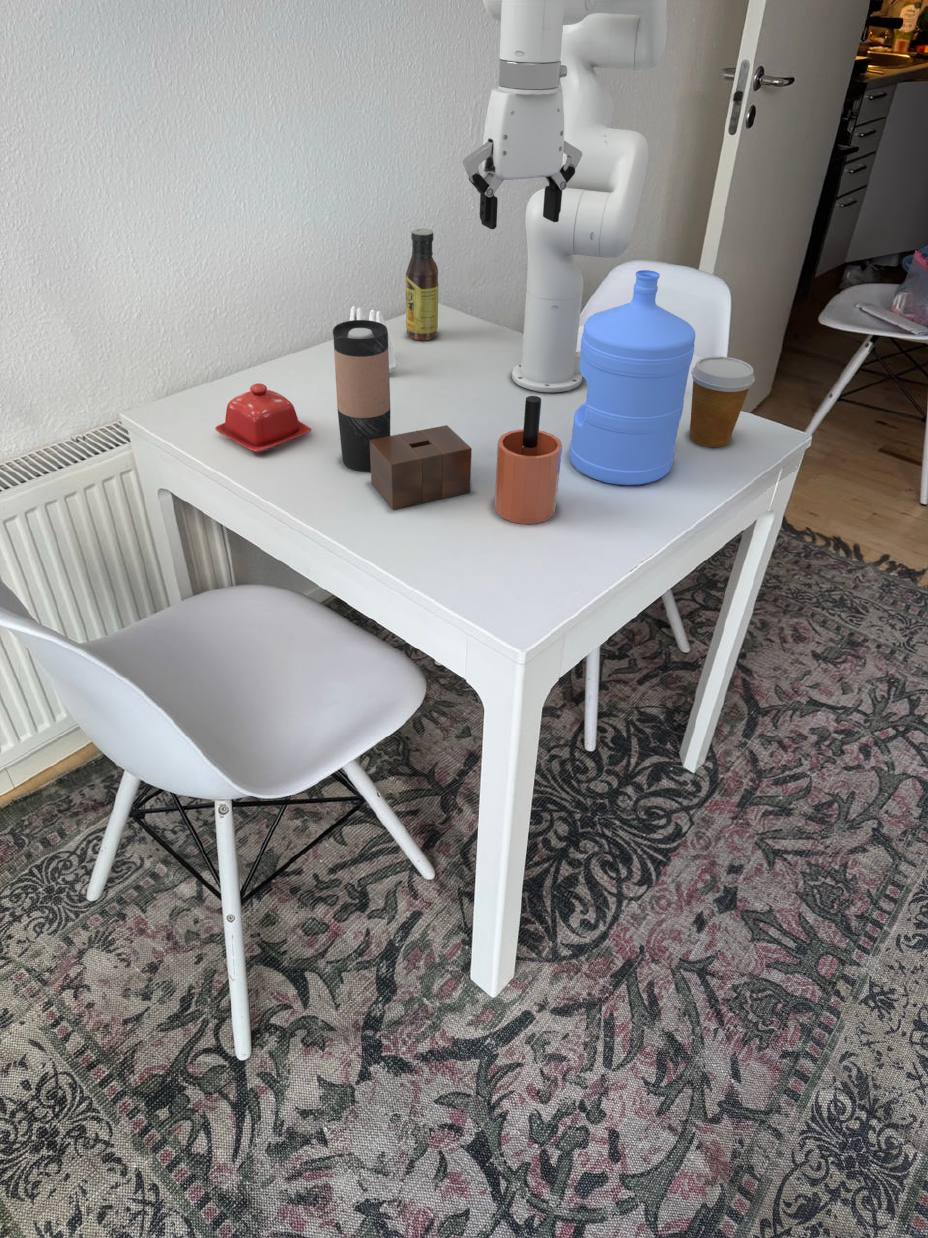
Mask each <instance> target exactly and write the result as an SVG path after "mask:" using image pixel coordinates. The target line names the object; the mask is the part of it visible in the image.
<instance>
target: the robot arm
mask: <svg viewBox="0 0 928 1238" xmlns="http://www.w3.org/2000/svg"><path fill="white" fill-rule="evenodd" d="M482 2H483V5H484V9H485V11H486V13H487V14H488V15H489V17H490V18H491V19H492V20H494V21H497V22H500V33H499V34H500V35H499V36H500V37H499V59H498V61H499V63H498V83H497V88H492V89H491V92H490V95H489V100H488V105H487V111H486V116H485V123H484V131H483V140H482V142H483V143H482V145H480V146H479V147H478V148H476V149H475V150H474V151H473V152H471V153H470V154H468V155H467V156H465V157H464V158H463V159H462V165H463V168H464V170H465V172H466V174H467V176H468V180H469V182H470V184H472V186H473V187H474V188H475V189H476V191H477V193H479V219H480V222H481V225H482V226H484V227H486V228H488V229H490V230H495V229H496V228H497V227H498V226H497V224H498V204H499V203H498V202H499V199H498V197H497V196H495V194H496V192H497V190H498V189H499V187H500V186H501V184H502V183H503V182H504V181H515V180H527V179H537V178H545V179H546V181H547V183H548V185H545V188H544V187H543V188H541V189H539V190H537V191H535V192H534V193H533V194H532V195H531V196H530V198H529V200H528V201H527V205H526V207H525V219H524V220H525V235H526V246H527V247H526V248H527V273H526V274H527V275H526V290H525V303H524V304H525V305H524V317H523V318H524V320H523V335H522V349H521V350H522V351H521V362H520V363H519V364H517V365H515V366H514V367H513V368H512V371H511V379H512V381H513V382H514V383H515V384H516V385H518V386H519V387H522V388H524V389H526V390H530V391H533V392H539V393H550V394H551V393H552V394H553V393H562V392H568V391H572V390H574V389H576V388H578V387H579V386H580V385H581V384H582V382H583V376H582V375H581V373H580V370H579V367H580V358H581V353H580V351H577V350H578V349H577V348H578V347H577V346H578V340H579V331H580V330H579V328H580V320H581V310H582V299H583V291H584V278H583V273H582V271H581V268H580V266H579V264H578V262H577V261H576V259H575V257H574V256H577V255H578V256H586V257H593V258H604V259H617V258H620V257H622V256H623V255H624V254H625V253H626V252H627V251H628V249H629V247H630V244H631V242H632V239H633V235H634V231H635V228H636V223H637V219H638V214H639V210H640V205H641V202H642V197H643V194H644V189H645V184H646V181H647V174H648V169H649V162H650V161H649V160H650V151H649V144H648V141H647V139H646V137H645V136H644V135H643V134H641V133H640V132H638V131H636V130H632V129H623V128H612V124H613V123H612V122H613V118H614V116H615V102H614V99H613V97H612V95H611V93H610V91H609V89H608V87H607V86H606V85H607V84H605V82H604V81H603V80H602V79H601V77H600V76H599V75H598V74H597V72H596V71H595V68H598V69H599V68H600V69H601V68H602V69H614V70H628V71H629V70H630V71H649V70H651V69H654V68H655V67H656V66H657V65H658V64H659V63H660V62H661V59H662V58H663V55H664V52H665V48H666V44H667V36H668V1H667V0H482ZM559 85H560V87H561V89H560V88H559ZM480 164H481V168H482V171H483V172H484V174H483V176H482V175H481V173H480V170H479V166H480Z"/></svg>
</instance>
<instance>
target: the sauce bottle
mask: <svg viewBox="0 0 928 1238" xmlns="http://www.w3.org/2000/svg"><path fill="white" fill-rule="evenodd" d="M410 237H411V242H412V243H411V246H412V250H411V255H410V256H411V257H410V260H409V262H408V266H407V270H406V272H405V328H406V334H407V336H408V337H409V338H410V339H411V340H414V341H431V340H434V339H435V338H436V337H437V335H438V328H439V267H438V265H437V262H436V261H435V259H434V257H433V255H434V253H433V242H434V231H433V230H432V229H430V228H429V229H428V228H420V227H419V228H415V229H413V230H411V236H410Z"/></svg>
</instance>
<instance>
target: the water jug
mask: <svg viewBox="0 0 928 1238" xmlns="http://www.w3.org/2000/svg"><path fill="white" fill-rule="evenodd" d="M660 277H661V274H660V273H659V272H658V271H655V270H651V269H649V270H648V269H642V270H640V269H639V270H637V271H636V272H635V283H634V285H633V294H632V298H631V301H630V302H628V303H625V304H621V305H618V306H615V307H611V308H608V309H604V310H602V311H597V312H596V313H594V314H592V315H591V316H589V317H588V318H587V319H586V320H585V322H584V325H583V330H582V331H583V332H582V335H581V339H580V350H579V352H580V353H581V358H580V367H579V370H580V373H581V375H582V378H584V379H585V381H586V385H587V391H586V399H585V401H584V402H583V403H582V404H581V405H579V406H578V407H577V409H576V410H575V412H574V414H573V422H572V431H571V439H570V441H569V448H568V456H569V460H570V463H572V465H573V466H574V468H576V469H577V470H578V471H579V472H580V473H581V474H583V475H585V476H587V477H588V478H592V479H593V480H596V481H599V482H603V483H607V484H611V485H621V486H636V485H639V486H640V485H645V484H649V483H653V482H655V481H658V480H661V479H662V478H663V477H665V476H666V475H668V474H669V472H670V471H671V469H672V467H673V463H674V459H675V449H676V442H677V437H678V433H679V432H678V431H679V427H680V421H681V419H682V415H683V411H684V404H685V394H686V389H687V383H688V379H689V372H690V368H691V365H692V361H693V358H694V352H695V341H696V331H695V328H694V327H693V326H692V325H691V324H690V323H689V321H687V320H685V319H683V318H681V317H680V316H678V315H675V314H674V313H672V312H670V311H668V310H667V309H664V308H663V307H661V306H660V305H658V304H657V303H656V299H657V293H658V289H659V285H658V282H659V278H660Z"/></svg>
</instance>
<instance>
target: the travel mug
mask: <svg viewBox="0 0 928 1238" xmlns="http://www.w3.org/2000/svg"><path fill="white" fill-rule="evenodd" d="M388 335H389V331H388V327H387V325H386V326H385V325H383V324H381V323H379V322H375V321H369V319H368V320H367V319H366V320H352V321H350V320H347V321H343V322H340V323H338V324H336V325H335V326H334V327H333V329H332V336H333V353H334V371H335V372H334V373H335V389H336V390H335V391H336V409H337V418H338V428H339V438H340V448H341V450H340V451H341V459H342V463H343V465H344V466H345V467H346V468H348V469H350V470H352V471H355V472H371V463H370V440H372V439H377V438H382V437H387V436H391V385H390V384H391V383H390V373H389V353H388Z"/></svg>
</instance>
